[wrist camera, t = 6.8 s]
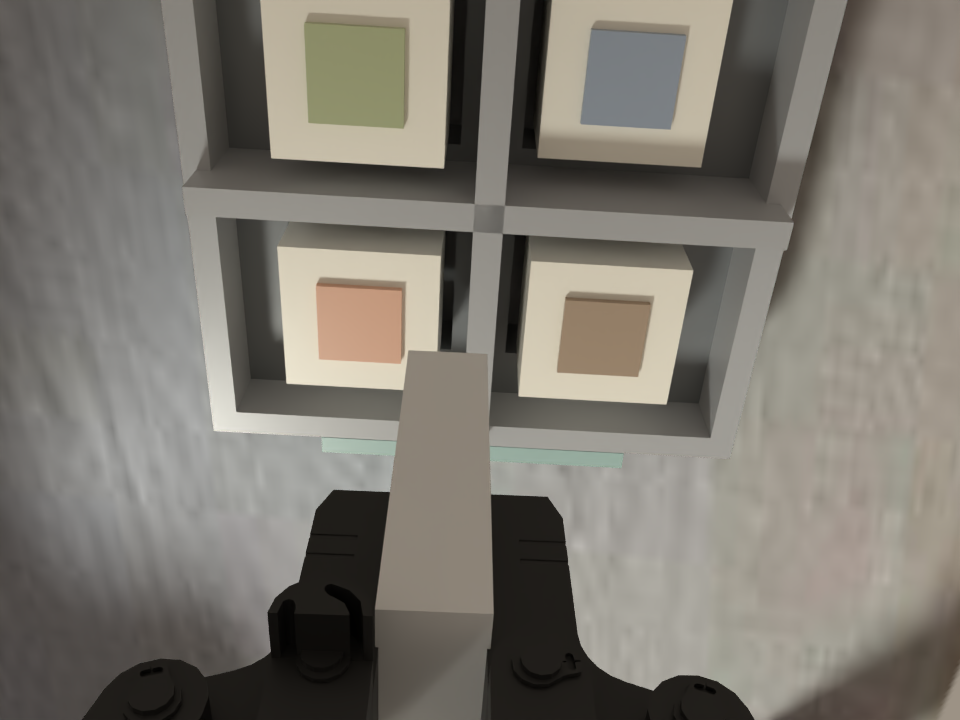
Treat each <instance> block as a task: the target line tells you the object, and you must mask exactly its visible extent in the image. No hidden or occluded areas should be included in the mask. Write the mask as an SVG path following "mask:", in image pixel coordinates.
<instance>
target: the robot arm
mask: <svg viewBox="0 0 960 720" xmlns="http://www.w3.org/2000/svg"><path fill="white" fill-rule="evenodd" d="M565 543H566V541H565V533H564V525H563V518H562V517H561V515H560V514H559V512H558V511H557V510H556V508H555V507H554V505H553V504H552V503H551V501H550V500H549V498H548V497H538V496H514V495H491V483H490V442H489V400H488V359H487V354H479V353H458V352H437V351H416V350H408V358H407V366H406V373H405V381H404V389H403V396H402V404H401V412H400V420H399V427H398V435H397V443H396V450H395V458H394V466H393V474H392V481H391V489H390V492H372V491H348V490H333V491H332V492H331V493H330V495H329V496H328V497H327V498H326V499H325V500H324V501H323V503H322V504H321V505H320V506H319V507H318V508H317V509H316V512H315V516H314V520H313V525H312V529H311V533H310V538H309V542H308V546H307V550H306V557H305V559H304V563H303V567H302V571H301V575H300V580H299V583H296V584H294V585H291V586H289V587H288V588H287V589H285V590H284V591H283V592H282V593H281V594H279V595H278V596H277V597H276V598H275V599H274V601H273V603H272V605H271V607H270V609H269V611H268V612H267V613H268V624H269V635H270V647H271V652H270V653H269V654H268V655H267V656H266V657H264V658H263V659H261V660H259V661H257V662H255V663H254V664H252V665H250V666H247V667H244V668H241V669H238V670H234V671H230V672H226V673H222V674H218V675H213V676H209V677H205V678H204V676H203V675H202V674H201V672H200V671H199V670H198V669H197V667H194V666H192V665H190V664H188V663H186V662H184V661H181V660H172V659H157V660H153V661H149V662H144V663H140V664H138V665H136V666H134V667H132V668H130V669H129V670H127V671H125V672H123V673H121V674H120V675H119V676H118V677H116V678H115V679H114V680H113V681H112V682H111V683H110V684H109V685H108V686H107V687H106V688H105V689H104V691H103V692H102V693H101V695H100V696H99V697H98V699H97V700H96V701H95V703H94V704H93V706H92V707H91V708H90V710H89V711H88V712H87V714H86V715H85V716H84V718H83V719H82V720H754V718H753V716H752V715H751V713H750V711H749V710H748V708H747V707H746V706H745V705H744V703H743V702H742V701H741V700H740V699H739V697H738V696H737V695H736V694H735V693H734V692H732V691H731V690H729V689H728V688H726V687H725V686H723V685H722V684H720V683H719V682H717V681H714V680H710V679H707V678H704V677H701V676H688V675H678V676H676V677H673V678H670V679H668V680H665V681H662V682H661V683H660V684H659V686H658V687H657V688H656V689H655V690H654V691H652V690H649V689H646V688H643V687H640V686H636V685H633V684H630V683H627V682H624V681H622V680H620V679H617V678H615V677H612V676H610V675H609V674H607V673H606V672H604V671H603V670H601V669H600V668H598V667H597V666H596V665H595V664H594V663H593V662H592V661H591V660H590V659H589V658H588V657H587V655H586V653H585V652H584V650H583V648H582V647H581V644H580V641H579V637H578V634H577V626H576V618H575V611H574V603H573V595H572V587H571V580H570V572H569V566H568V556H567V548H566V546H565Z"/></svg>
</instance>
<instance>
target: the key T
mask: <svg viewBox="0 0 960 720" xmlns="http://www.w3.org/2000/svg"><path fill="white" fill-rule="evenodd" d="M732 4H733V0H544V8H543V20H542V31H541V42H540V54H539V65H538V76H537V87H536V99H535V110H534V121H533V125H534V133H535V141H536V149H537V157H538V158H550V159H566V160H583V161H600V162H617V163H633V164H650V165H667V166H684V167H700V168H701V165H702V159H703V154H704V149H705V144H706V139H707V134H708V128H709V123H710V118H711V113H712V108H713V102H714V97H715V92H716V87H717V82H718V77H719V71H720V66H721V61H722V56H723V51H724V45H725V40H726V35H727V30H728V25H729V20H730V14H731V9H732Z"/></svg>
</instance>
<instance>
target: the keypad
mask: <svg viewBox="0 0 960 720" xmlns="http://www.w3.org/2000/svg"><path fill="white" fill-rule="evenodd" d="M847 1H848V0H733V4H732V9H731V14H730V20H729V25H728V30H727V35H726V40H725V45H724V51H723V56H722V61H721V66H720V71H719V77H718V82H717V87H716V92H715V97H714V102H713V108H712V113H711V118H710V123H709V128H708V134H707V139H706V144H705V149H704V154H703V159H702V165H701V168H700V167H684V166H667V165H650V164H633V163H617V162H600V161H583V160H566V159H550V158H538V157H537V149H536V141H535V133H534V125H533V121H534V110H535V99H536V87H537V76H538V65H539V54H540V42H541V31H542V20H543V8H544V0H455V1H454V27H453V52H452V78H451V104H450V130H449V138H448V145H447V151H446V158H445V165H444V169H443V168H426V167H409V166H392V165H375V164H359V163H342V162H325V161H308V160H291V159H274V158H271V150H270V135H269V120H268V106H267V91H266V77H265V62H264V47H263V33H262V18H261V4H260V0H161V7H162V15H163V23H164V31H165V39H166V48H167V56H168V64H169V72H170V80H171V88H172V96H173V104H174V112H175V120H176V128H177V137H178V145H179V153H180V161H181V169H182V177H183V186H182V191H183V199H184V207H185V215H187V217H188V226H189V234H190V242H191V250H192V258H193V266H194V274H195V282H196V290H197V298H198V306H199V315H200V323H201V331H202V339H203V347H204V355H205V363H206V371H207V379H208V387H209V395H210V403H211V412H212V420H213V428H214V431H223V432H242V433H260V434H279V435H297V436H315V437H322V452H333V453H351V454H370V455H388V456H395V450H396V443H397V435H398V427H399V420H400V412H401V404H402V396H403V390H393V389H375V388H357V387H338V386H320V385H302V384H287V383H286V368H285V354H284V339H283V325H282V310H281V295H280V281H279V266H278V252H277V246H278V244H279V242H280V240H281V238H282V236H283V234H284V232H285V230H286V228H287V226H288V224H289V222H290V221H291V222H308V223H325V224H342V225H360V226H377V227H394V228H411V229H428V230H445V231H446V232H445V258H444V284H443V310H442V335H441V347H440V352H458V353H479V354H487V359H488V400H489V442H490V461H499V462H518V463H537V464H555V465H574V466H592V467H611V468H621V467H622V461H623V455H624V453H629V454H647V455H666V456H684V457H703V458H721V459H730V457H731V453H732V449H733V445H734V442H735V438H736V434H737V430H738V426H739V422H740V418H741V414H742V410H743V406H744V402H745V399H746V395H747V391H748V387H749V383H750V379H751V375H752V371H753V367H754V363H755V360H756V356H757V352H758V348H759V344H760V340H761V336H762V332H763V328H764V324H765V321H766V317H767V313H768V309H769V305H770V301H771V297H772V293H773V289H774V285H775V282H776V278H777V274H778V270H779V266H780V262H781V258H782V254H783V250H787V248H788V245H789V241H790V237H791V233H792V229H793V225H794V222H793V221H792V215H793V211H794V207H795V203H796V200H797V196H798V192H799V188H800V184H801V180H802V176H803V172H804V168H805V164H806V161H807V157H808V153H809V149H810V145H811V141H812V137H813V133H814V129H815V125H816V121H817V118H818V114H819V110H820V106H821V102H822V98H823V94H824V90H825V86H826V82H827V79H828V75H829V71H830V67H831V63H832V59H833V55H834V51H835V47H836V43H837V40H838V36H839V32H840V28H841V24H842V20H843V16H844V12H845V8H846V4H847ZM526 235H531V236H549V237H566V238H583V239H600V240H617V241H634V242H652V243H669V244H682V245H683V248H684V250H685V252H686V255H687V257H688V259H689V261H690V264H691V266H692V268H693V275H692V280H691V285H690V290H689V295H688V300H687V305H686V310H685V315H684V320H683V325H682V330H681V335H680V340H679V345H678V350H677V355H676V360H675V365H674V370H673V375H672V380H671V385H670V390H669V395H668V400H667V405H665V404H646V403H628V402H610V401H592V400H574V399H556V398H538V397H520V396H518V372H517V347H516V341H517V330H518V319H519V308H520V297H521V286H522V275H523V264H524V253H525V241H526Z"/></svg>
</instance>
